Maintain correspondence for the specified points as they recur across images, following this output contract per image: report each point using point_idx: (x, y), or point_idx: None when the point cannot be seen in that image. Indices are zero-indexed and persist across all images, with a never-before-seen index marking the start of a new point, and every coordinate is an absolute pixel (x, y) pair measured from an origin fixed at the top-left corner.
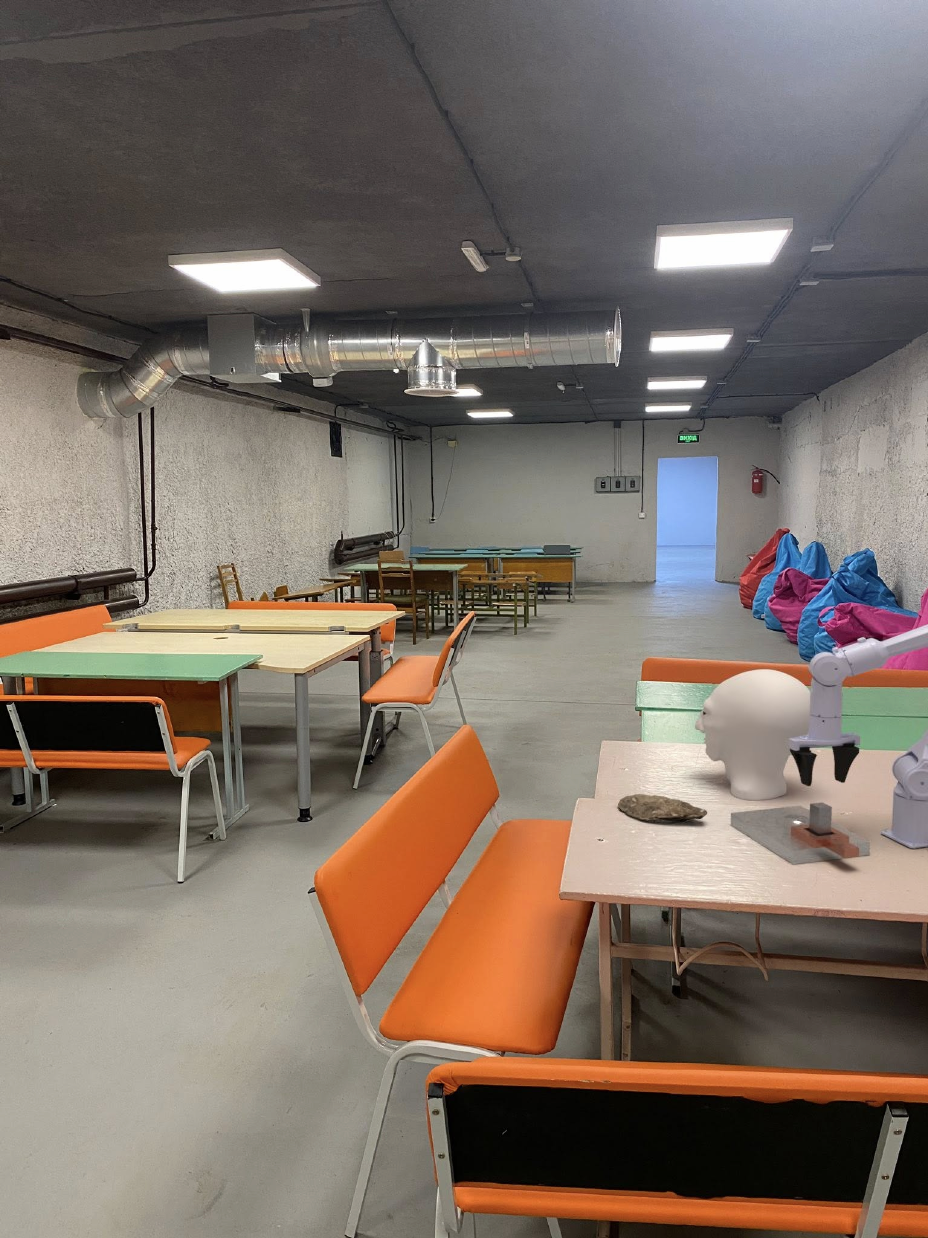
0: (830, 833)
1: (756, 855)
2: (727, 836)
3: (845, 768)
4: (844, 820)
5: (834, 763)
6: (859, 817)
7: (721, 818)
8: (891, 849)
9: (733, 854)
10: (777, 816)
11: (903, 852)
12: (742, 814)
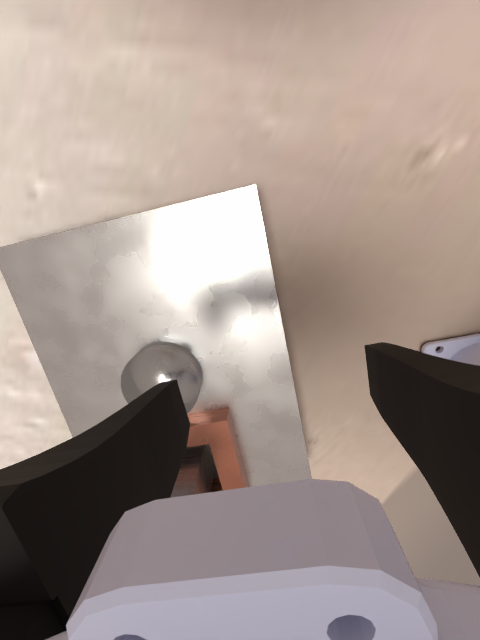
0: (210, 487)
1: (54, 437)
2: (4, 328)
3: (419, 466)
4: (387, 226)
5: (413, 368)
6: (456, 200)
7: (2, 185)
8: (379, 432)
9: (5, 428)
10: (135, 291)
11: (395, 449)
12: (26, 267)
